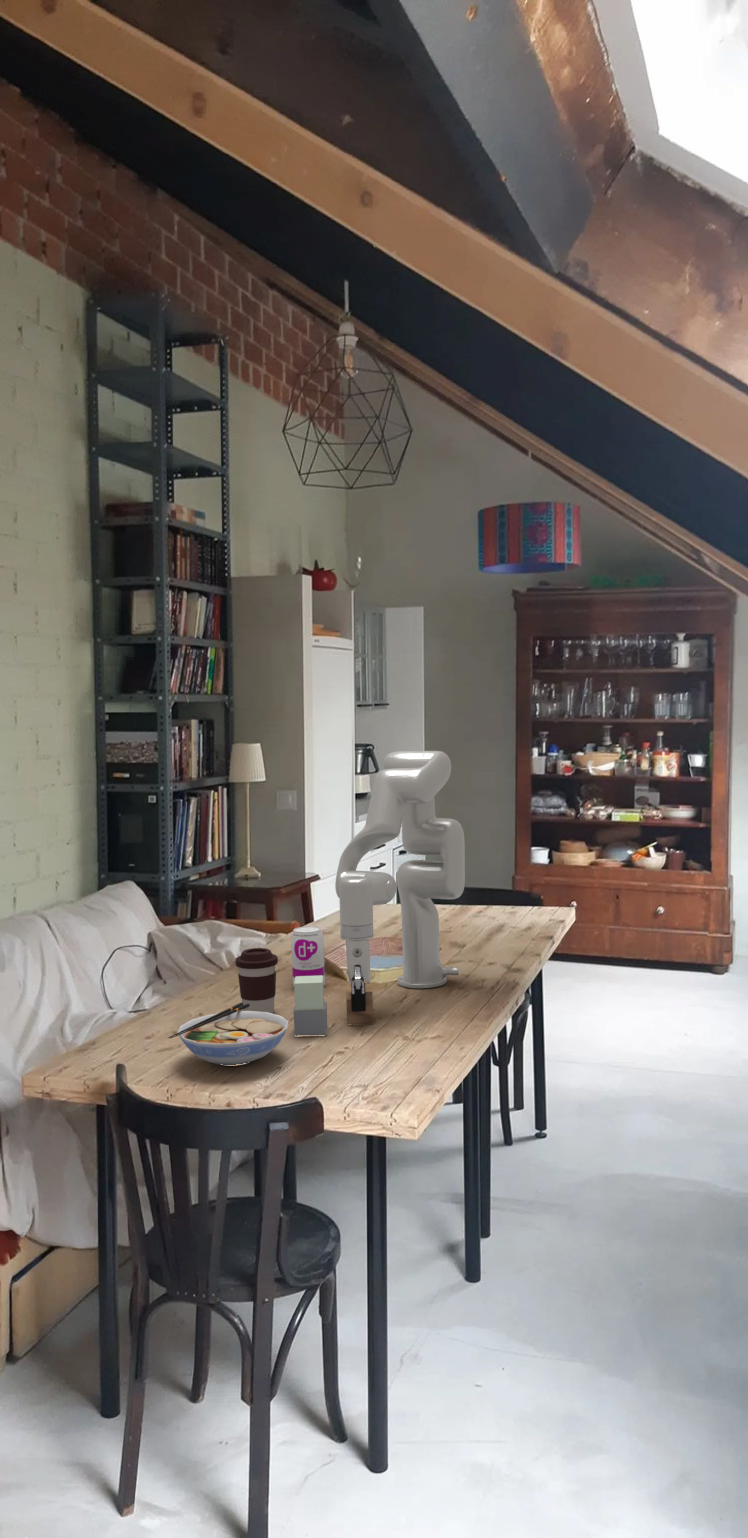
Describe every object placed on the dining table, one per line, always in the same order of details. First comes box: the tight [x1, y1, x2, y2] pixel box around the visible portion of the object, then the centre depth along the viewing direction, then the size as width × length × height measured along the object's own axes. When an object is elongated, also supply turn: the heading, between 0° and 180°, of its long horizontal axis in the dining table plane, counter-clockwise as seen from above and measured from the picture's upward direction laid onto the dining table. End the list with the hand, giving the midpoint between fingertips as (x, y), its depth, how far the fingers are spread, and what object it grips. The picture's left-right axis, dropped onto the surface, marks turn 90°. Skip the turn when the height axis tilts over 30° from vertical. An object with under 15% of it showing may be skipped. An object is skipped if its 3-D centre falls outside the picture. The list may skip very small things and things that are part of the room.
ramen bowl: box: [167, 1002, 289, 1065], centre depth 232 cm, size 25×23×8 cm
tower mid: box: [293, 975, 325, 1010], centre depth 250 cm, size 6×6×6 cm
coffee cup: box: [235, 947, 279, 1014], centre depth 266 cm, size 10×10×15 cm
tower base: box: [293, 1000, 328, 1036], centre depth 250 cm, size 7×7×6 cm
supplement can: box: [290, 926, 326, 987], centre depth 288 cm, size 8×8×15 cm
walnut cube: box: [345, 991, 375, 1026], centre depth 257 cm, size 6×6×6 cm
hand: (358, 1005), depth 257 cm, fingers open, 9 cm apart
